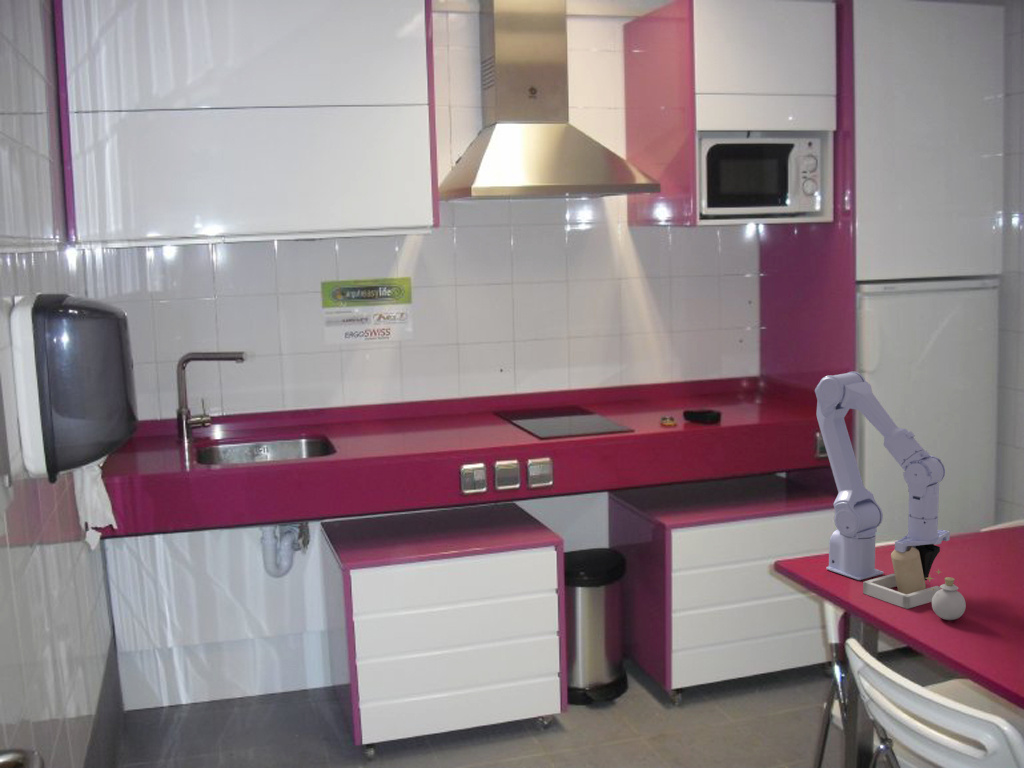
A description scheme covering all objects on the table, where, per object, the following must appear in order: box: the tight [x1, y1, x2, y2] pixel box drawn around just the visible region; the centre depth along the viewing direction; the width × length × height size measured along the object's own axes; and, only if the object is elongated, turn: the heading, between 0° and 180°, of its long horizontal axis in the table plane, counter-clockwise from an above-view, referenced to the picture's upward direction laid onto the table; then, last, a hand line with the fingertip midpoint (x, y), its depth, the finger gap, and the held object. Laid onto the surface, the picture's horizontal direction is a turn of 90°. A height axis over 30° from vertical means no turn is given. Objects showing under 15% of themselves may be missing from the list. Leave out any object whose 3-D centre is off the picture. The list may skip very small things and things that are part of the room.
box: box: [862, 573, 942, 610], centre depth 214 cm, size 11×10×2 cm
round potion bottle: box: [926, 569, 967, 621], centre depth 200 cm, size 6×7×10 cm
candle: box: [890, 546, 927, 595], centre depth 214 cm, size 6×6×10 cm
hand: (921, 579), depth 216 cm, fingers closed
